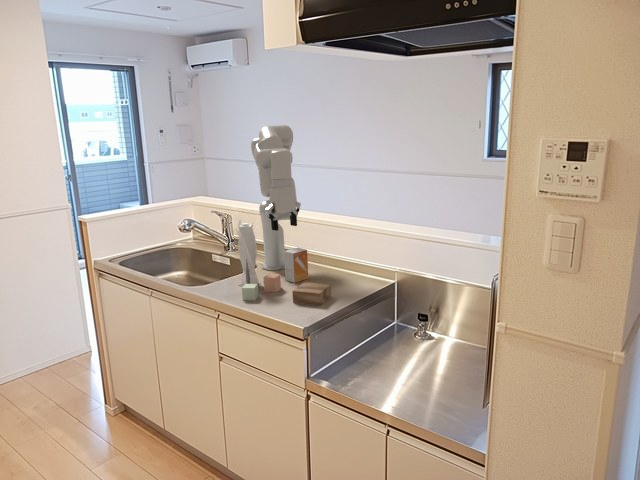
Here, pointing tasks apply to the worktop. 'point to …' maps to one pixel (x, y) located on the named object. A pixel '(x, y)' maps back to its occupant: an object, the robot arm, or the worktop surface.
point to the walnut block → (311, 293)
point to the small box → (296, 265)
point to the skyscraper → (247, 253)
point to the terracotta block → (272, 282)
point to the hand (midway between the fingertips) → (284, 227)
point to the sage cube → (250, 291)
